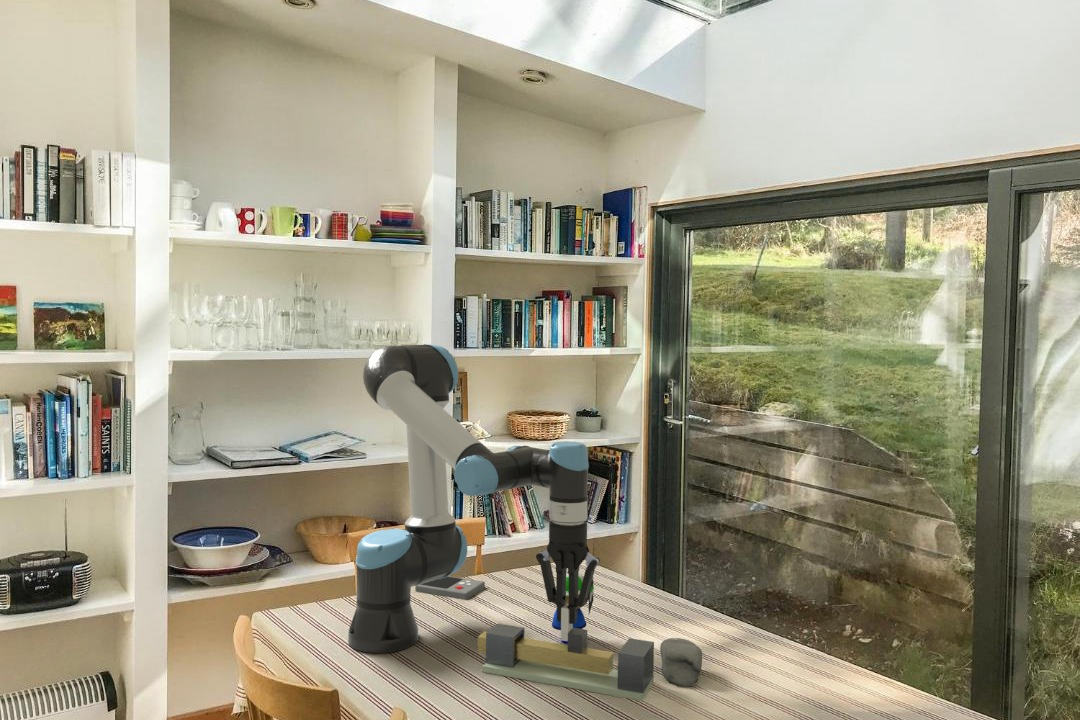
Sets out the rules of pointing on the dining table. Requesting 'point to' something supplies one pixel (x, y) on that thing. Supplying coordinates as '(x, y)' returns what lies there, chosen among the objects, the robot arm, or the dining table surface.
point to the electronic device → (452, 587)
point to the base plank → (566, 678)
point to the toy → (580, 617)
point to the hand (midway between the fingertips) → (566, 638)
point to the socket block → (635, 665)
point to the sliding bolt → (561, 652)
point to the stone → (681, 662)
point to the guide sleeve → (502, 645)
